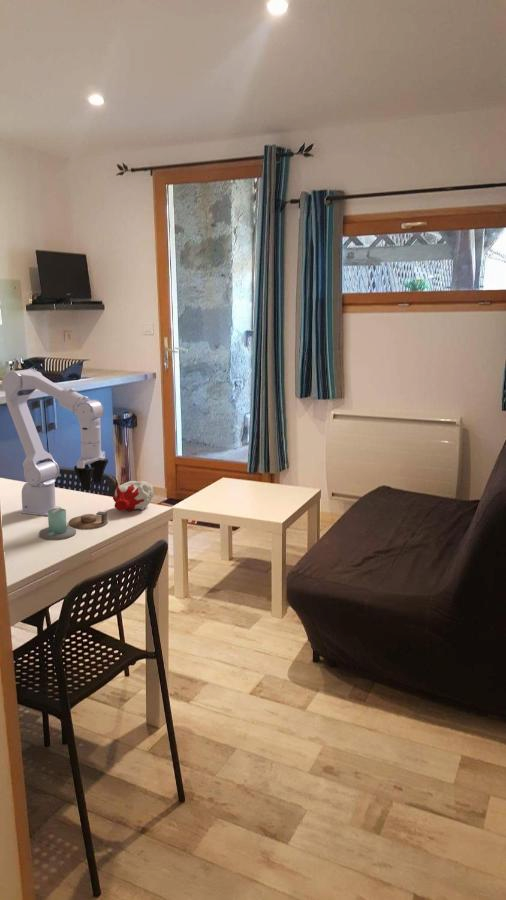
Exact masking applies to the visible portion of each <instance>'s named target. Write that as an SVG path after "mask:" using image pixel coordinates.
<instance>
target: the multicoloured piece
mask: <svg viewBox="0 0 506 900" xmlns="http://www.w3.org/2000/svg"><path fill="white" fill-rule="evenodd" d="M154 490H155V489H154V486H153V485H152V484H150V483H149V482H147V481H144V480H143V481H138V480H130V481H127V482H124V483H122V484H120V485H117V486H116V489H115V491H114V494H113V496H112V499H113V501H114V506H113V507H115V509H116V510H117V511H127V512H134V511H137V510H138V509H140V510H141V511H143V510H145V508H146V507H147V506H149V505H150V503H151V501H152V499H153V498H154V495H155V493H154Z"/></svg>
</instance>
